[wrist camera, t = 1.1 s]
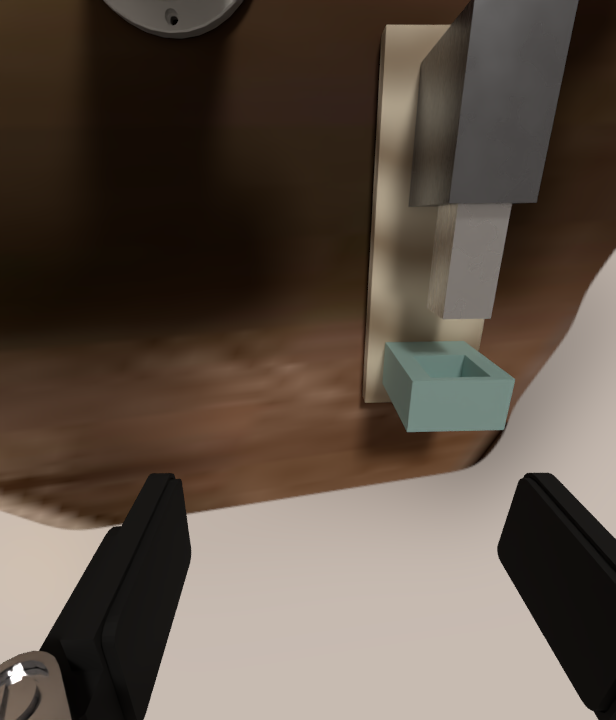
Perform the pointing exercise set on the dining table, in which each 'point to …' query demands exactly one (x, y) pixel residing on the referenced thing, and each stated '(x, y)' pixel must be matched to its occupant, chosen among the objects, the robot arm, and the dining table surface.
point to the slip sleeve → (490, 103)
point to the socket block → (445, 387)
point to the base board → (402, 217)
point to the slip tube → (467, 259)
